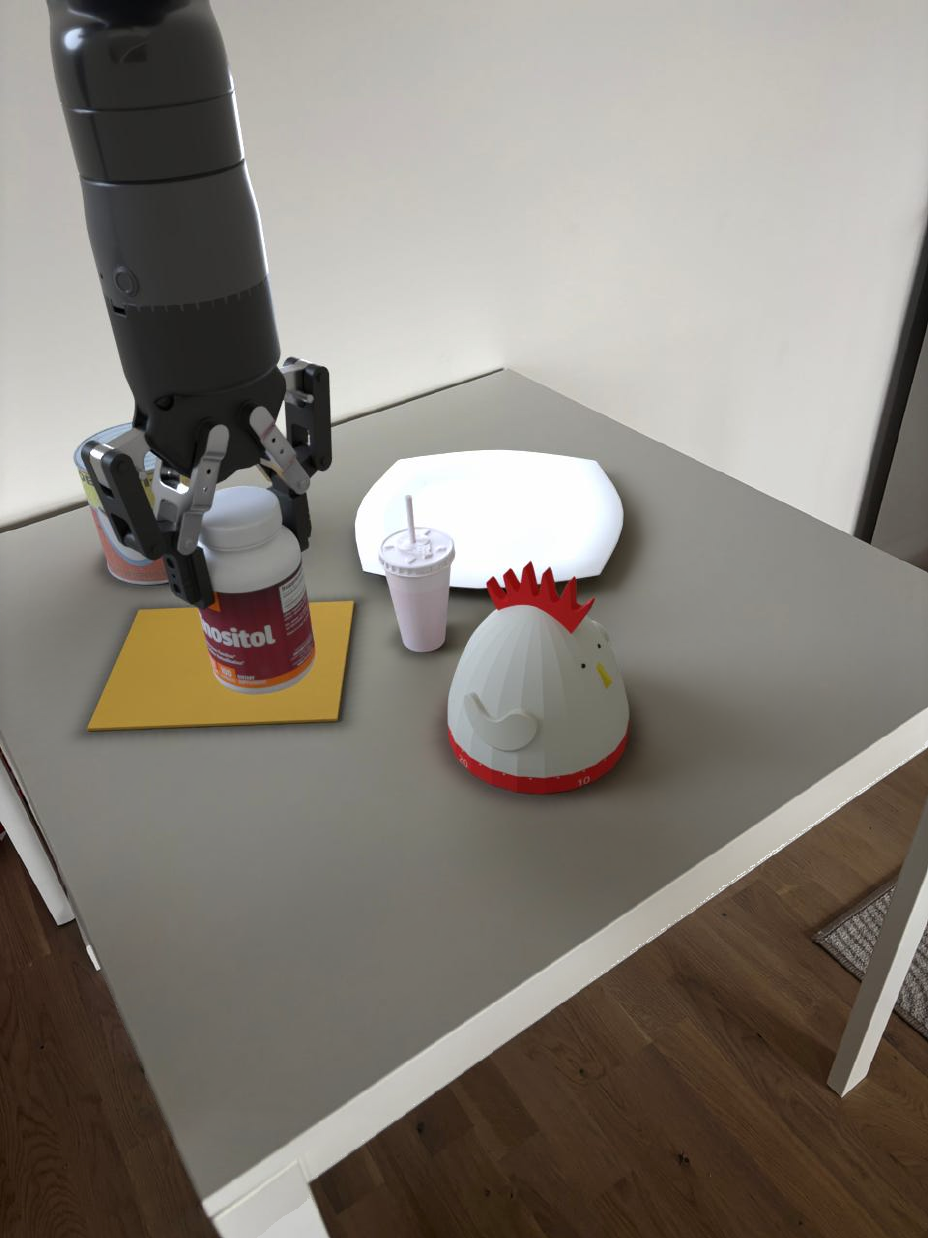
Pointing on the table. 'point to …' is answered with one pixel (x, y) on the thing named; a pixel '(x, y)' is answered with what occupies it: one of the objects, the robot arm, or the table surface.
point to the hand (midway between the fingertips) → (247, 573)
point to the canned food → (119, 557)
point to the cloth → (214, 677)
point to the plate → (499, 513)
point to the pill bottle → (255, 594)
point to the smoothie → (418, 581)
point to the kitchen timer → (537, 691)
